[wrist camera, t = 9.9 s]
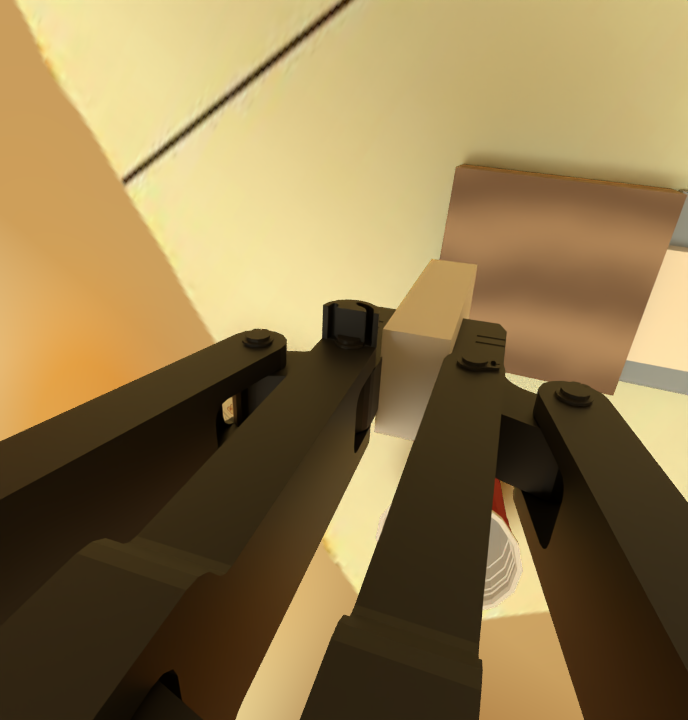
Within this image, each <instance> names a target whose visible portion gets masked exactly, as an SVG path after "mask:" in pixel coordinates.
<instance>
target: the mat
mask: <svg viewBox="0 0 688 720" xmlns="http://www.w3.org/2000/svg"><path fill="white" fill-rule="evenodd" d="M679 192H681V193H684V194H687V197H686V200H685V203H684V205H683V208H682V211H681V213H680V216H679V219H678V222H677V224H676V227H675V230H674V232H673V235H672V238H671V240H670V243H669V245H671V246H679V247H686V248H688V191H685V190H679ZM619 381H622V382H627V383H632V384H637V385H641V386H646V387H651V388H656V389H661V390H665V391H670V392H675V393H680V394H685V395H688V372H687V371H681V370H676V369H671V368H666V367H660V366H655V365H650V364H644V363H639V362H634V361H629V360H626V362H625V365H624V367H623V370H622V373H621V376H620V378H619Z"/></svg>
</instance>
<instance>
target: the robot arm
mask: <svg viewBox="0 0 688 720" xmlns="http://www.w3.org/2000/svg"><path fill="white" fill-rule="evenodd" d="M476 272H477V265H476V264H468V263H460V262H452V261H444V260H436V259H431V261H430V262H429V264H428V265H427V267H426V268H425V269H424V271H423V272H422V274H421V275H420V277H419V278H418V279H417V281H416V282H415V284H414V285H413V287H412V288H411V289H410V291H409V292H408V294H407V295H406V297H405V298H404V300H403V301H402V302H401V304H400V305H399V307H398V308H397V310H396V309H390V308H383V307H377V306H375V305H373V304H371V303H368V302H364V301H359V300H336V301H331V302H328V303H326V304H324V305H323V327H322V339H321V340H320V341H319V342H318V343H317V344H316V345H315V346H314V348H313V349H312V350H311V351H306V352H301V351H287V339H286V338H285V337H284V336H283V335H281V334H279V333H277V332H273V331H269V330H267V329H262V330H261V329H253V330H252V331H245V332H242V333H238V334H236V335H233V336H231V337H229V338H227V339H225V340H222V341H220V342H218V343H216V344H214V345H212V346H209V347H207V348H205V349H203V350H200V351H198V352H196V353H194V354H192V355H190V356H187V357H185V358H183V359H181V360H178V361H176V362H174V363H172V364H170V365H168V366H165V367H163V368H161V369H159V370H156V371H154V372H152V373H150V374H148V375H146V376H143V377H141V378H139V379H137V380H134V381H132V382H130V383H128V384H126V385H123V386H121V387H119V388H117V389H115V390H113V391H110V392H108V393H106V394H104V395H101V396H99V397H97V398H95V399H93V400H90V401H88V402H86V403H84V404H82V405H79V406H77V407H75V408H73V409H71V410H68V411H66V412H64V413H62V414H60V415H57V416H55V417H53V418H51V419H49V420H46V421H44V422H42V423H40V424H38V425H35V426H33V427H31V428H29V429H27V430H25V431H23V432H20V433H18V434H16V435H14V436H11V437H9V438H7V439H5V440H2V441H0V720H235V719H236V716H237V713H238V711H239V708H240V706H241V704H242V701H243V699H244V697H245V695H246V693H247V691H248V689H249V687H250V685H251V683H252V681H253V679H254V677H255V675H256V673H257V671H258V669H259V667H260V664H261V663H262V660H263V658H264V656H265V654H266V652H267V650H268V648H269V646H270V644H271V642H272V640H273V638H274V636H275V634H276V632H277V629H278V627H279V626H280V624H281V622H282V620H283V617H284V615H285V613H286V611H287V609H288V607H289V605H290V603H291V601H292V599H293V597H294V595H295V593H296V591H297V589H298V587H299V585H300V583H301V581H302V579H303V576H304V575H305V572H306V570H307V568H308V566H309V564H310V562H311V560H312V558H313V556H314V554H315V552H316V550H317V548H318V546H319V544H320V542H321V540H322V538H323V536H324V534H325V532H326V530H327V527H328V525H329V523H330V521H331V519H332V517H333V515H334V513H335V511H336V509H337V507H338V505H339V503H340V501H341V499H342V497H343V495H344V493H345V491H346V489H347V487H348V484H349V482H350V480H351V478H352V476H353V474H354V472H355V470H356V468H357V466H358V464H359V462H360V460H361V458H362V456H363V454H364V452H365V450H366V448H367V446H368V444H369V438H370V426H371V423H372V421H373V419H374V417H375V415H376V418H375V429H374V432H376V433H380V434H385V435H389V436H394V437H399V438H403V439H408V440H412V441H414V443H413V445H412V448H411V451H410V454H409V457H408V459H407V462H406V465H405V468H404V470H403V473H402V476H401V479H400V481H399V484H398V487H397V490H396V493H395V495H394V498H393V501H392V504H391V506H390V509H389V512H388V515H387V518H386V520H385V523H384V526H383V529H382V531H381V534H380V537H379V540H378V542H377V545H376V548H375V551H374V554H373V556H372V559H371V562H370V565H369V567H368V570H367V573H366V576H365V578H364V581H363V584H362V587H361V590H360V592H359V595H358V598H357V601H356V603H355V606H354V609H353V611H352V613H351V615H350V616H347V615H343V616H342V618H341V619H340V620H339V622H338V624H337V626H336V628H335V631H334V633H333V635H332V637H331V640H330V642H329V645H328V648H327V650H326V653H325V655H324V658H323V661H322V663H321V666H320V668H319V671H318V674H317V676H316V679H315V681H314V684H313V687H312V689H311V692H310V695H309V697H308V700H307V702H306V705H305V708H304V710H303V713H302V715H301V718H300V720H479V712H480V700H481V687H482V671H483V670H482V660H481V659H479V657H478V654H479V641H480V630H481V620H482V610H483V599H484V589H485V578H486V568H487V558H488V547H489V537H490V526H491V516H492V506H493V495H494V485H495V478H497V479H499V480H501V481H503V482H505V483H508V484H510V485H512V486H514V490H513V499H514V502H515V506H516V509H517V512H518V515H519V518H520V521H521V524H522V527H523V530H524V534H525V537H526V540H527V543H528V546H529V549H530V552H531V555H532V558H533V562H534V565H535V568H536V571H537V574H538V577H539V580H540V583H541V586H542V590H543V593H544V596H545V599H546V602H547V605H548V608H549V611H550V614H551V617H552V621H553V624H554V627H555V630H556V633H557V636H558V639H559V642H560V645H561V649H562V652H563V655H564V658H565V661H566V664H567V667H568V670H569V674H570V676H571V680H572V683H573V686H574V689H575V692H576V695H577V698H578V701H579V705H580V708H581V710H582V714H583V717H584V720H688V502H687V501H686V500H685V498H684V497H683V496H682V494H681V493H680V492H679V490H678V489H677V488H676V487H675V485H674V484H673V483H672V481H671V480H670V479H669V477H668V476H667V475H666V474H665V472H664V471H663V470H662V468H661V467H660V466H659V464H658V463H657V462H656V461H655V459H654V458H653V457H652V455H651V454H650V453H649V451H648V450H647V449H646V447H645V446H644V445H643V444H642V442H641V441H640V440H639V438H638V437H637V436H636V434H635V433H634V432H633V431H632V429H631V428H630V427H629V425H628V424H627V423H626V421H625V420H624V419H623V418H622V416H621V415H620V414H619V412H618V411H617V410H616V408H615V407H614V406H613V405H612V403H611V402H610V401H609V399H607V398H606V397H605V396H604V395H603V394H602V393H600V392H598V391H596V390H595V389H593V388H591V387H590V386H588V385H585V384H581V383H579V382H575V381H572V382H568V381H550V382H546V383H543V384H542V385H541V386H540V387H539V388H538V392H537V394H535V393H532V392H529V391H527V390H524V389H522V388H519V387H518V386H516V385H514V384H512V383H511V382H510V381H509V380H508V379H507V378H506V377H505V367H504V356H505V346H506V336H507V331H506V330H505V329H504V328H503V327H502V326H501V325H500V324H498V323H491V322H484V321H478V320H471V319H469V314H470V308H471V302H472V296H473V290H474V284H475V278H476ZM231 397H232V403H233V417H231V418H230V419H228V420H224V418H223V407H222V404H223V403H224V402H225V401H226V400H227V399H229V398H231Z"/></svg>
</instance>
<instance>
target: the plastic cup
mask: <svg viewBox="0 0 688 720" xmlns="http://www.w3.org/2000/svg"><path fill="white" fill-rule="evenodd" d="M391 504H392V503H391ZM390 506H391V505H390ZM390 506H389V507H388V508H387V509H386V510H385V511H384V513H383V514H382V515H381V516H380V520H379V525H378V529H377V534H376V540H377V542H378V540H379V537H380V534H381V531H382V529H383V526H384V523H385V520H386V518H387V515H388V512H389V509H390ZM522 571H523V569H522V562H521V556H520V549H519V544H518V541H517V540H516V538H515V537H514V535H513V534H512V532H511V529H510V527H509V522H508V519H507V517H506V512H505V506H504V501H503V495H502V490H501V485H500V481H499V479H497V478H495V485H494V495H493V506H492V516H491V526H490V537H489V547H488V558H487V568H486V578H485V589H484V599H483V610H486V609H490V608H494V607H497V606H498V605H499V604H501V603H502V602H503V601H504V600H506V599H507V598H508V597H509V596H511V595H512V594H513V593H514V592H515V590H516V587H517V585H518V582H519V579H520V577H521V574H522Z"/></svg>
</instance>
